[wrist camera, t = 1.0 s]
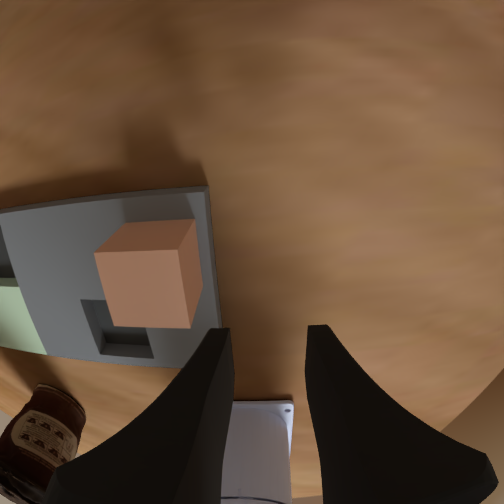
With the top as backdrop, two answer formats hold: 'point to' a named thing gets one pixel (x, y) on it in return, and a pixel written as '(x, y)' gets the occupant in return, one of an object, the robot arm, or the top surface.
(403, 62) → the top surface
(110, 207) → the board
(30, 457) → the coffee cup
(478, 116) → the top surface
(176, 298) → the block
